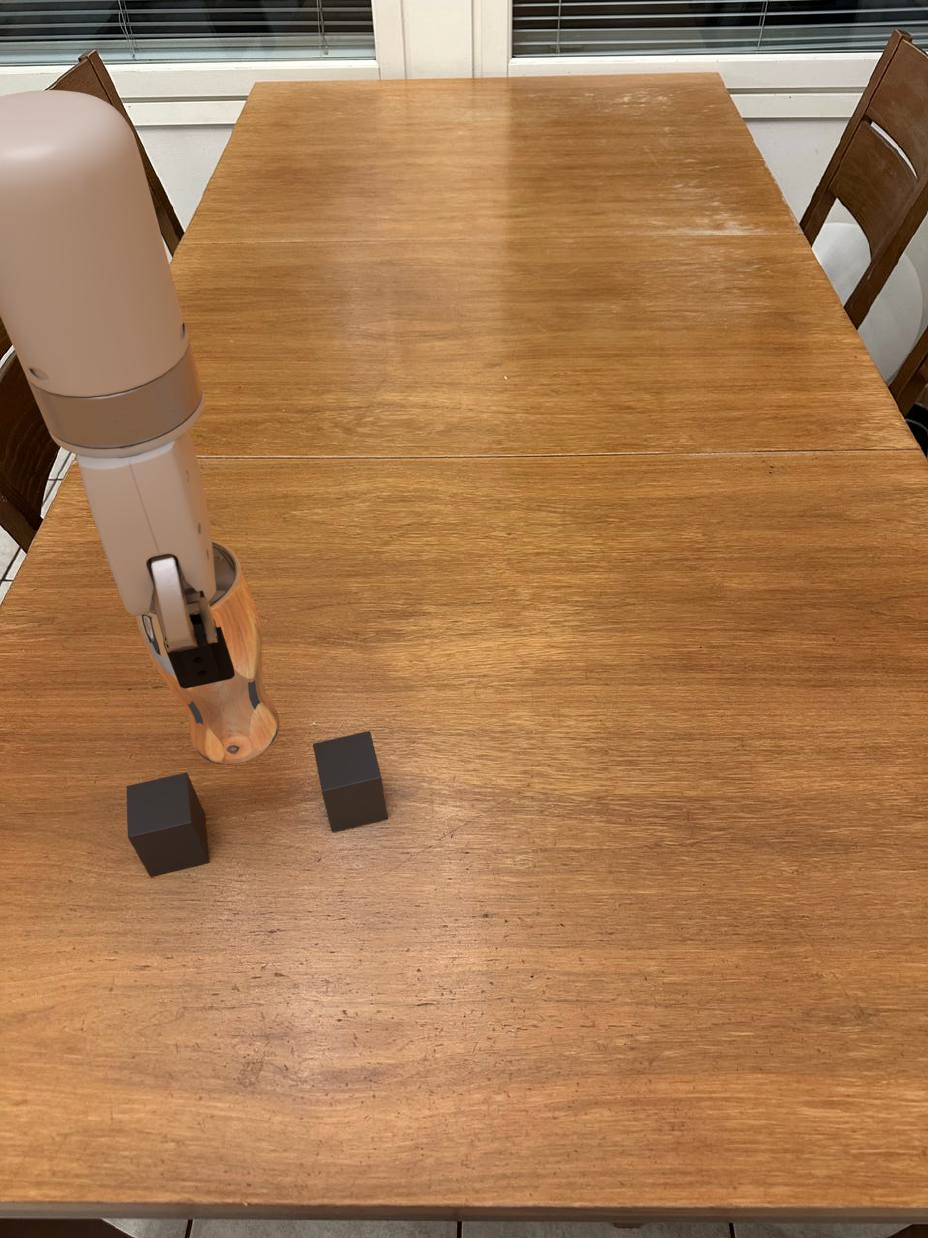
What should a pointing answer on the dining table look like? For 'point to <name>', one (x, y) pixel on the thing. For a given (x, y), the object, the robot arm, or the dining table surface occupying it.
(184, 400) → the robot arm
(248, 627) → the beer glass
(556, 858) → the dining table surface
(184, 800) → the block left
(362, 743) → the block right
